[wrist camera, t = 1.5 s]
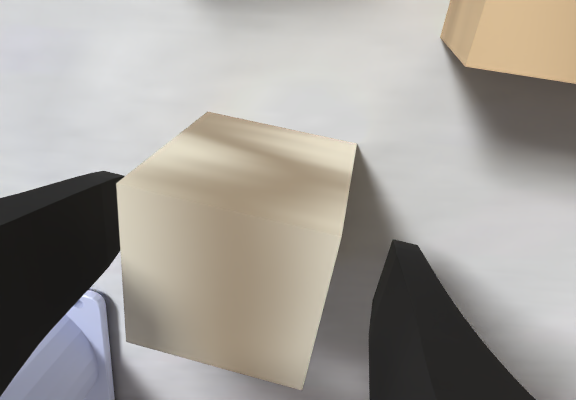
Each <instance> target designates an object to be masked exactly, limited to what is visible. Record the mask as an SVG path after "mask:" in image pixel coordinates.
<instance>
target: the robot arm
mask: <svg viewBox="0 0 576 400" xmlns="http://www.w3.org/2000/svg"><path fill="white" fill-rule="evenodd" d="M122 178H124V176H123V175H119V174H115V173H110V172H106V171H100V172H95V173H90V174H86V175H82V176H78V177H75V178H71V179H68V180H64V181H61V182H57V183H54V184H50V185H47V186H43V187H40V188H36V189H33V190H29V191H26V192H22V193H19V194H15V195H11V196H7V197H3V198H0V400H115V397H114V387H113V376H112V366H111V355H110V345H109V334H108V324H107V313H106V303H105V300H104V298H103V297H102V296H101V295H100V294H99V293H97V292H94V291H91V290H88V289H89V288H90V287H91V286H92V285H93V284H94V283H95V282H96V281H97V279H98V278H99V277H100V276H101V275H102V274H103V273H104V272H105V270H106V269H107V268H108V267H109V266H110V264H111V263H112V261H113V260H114V259H115V257H116V256H117V254H118V253H119V251H120V235H119V219H118V203H117V187H116V183H117V182H119V181H120V180H121V179H122ZM369 389H370V400H536V399H534V398H533V397H532V396H531V395H530V394H529V393H528V392H527V391H526V390H525V389H524V388H523V387H522V385H521V384H520V383H519V382H518V381H517V380H516V379H515V378H514V377H513V376H512V375H511V374H510V373H509V372H508V370H507V369H506V368H505V367H504V366H503V365H502V364H501V363H500V361H499V360H498V359H497V358H496V357H495V356H494V355H493V354H492V352H491V351H490V350H489V349H488V348H487V346H486V345H485V344H484V343H483V342H482V340H481V339H480V338H479V337H478V335H477V334H476V333H475V331H474V330H473V329H472V327H471V326H470V325H469V323H468V322H467V321H466V320H465V318H464V317H463V316H462V314H461V313H460V311H459V310H458V308H457V307H456V306H455V304H454V303H453V301H452V300H451V298H450V297H449V295H448V294H447V292H446V291H445V289H444V288H443V286H442V284H441V283H440V281H439V280H438V278H437V276H436V275H435V273H434V271H433V270H432V268H431V266H430V265H429V263H428V261H427V260H426V258H425V257H424V255H423V253H422V252H421V250H420V248H419V247H418V245H415V244H411V243H406V242H402V241H398V240H394V239H393V241H392V244H391V247H390V250H389V253H388V256H387V259H386V262H385V265H384V268H383V271H382V274H381V277H380V280H379V283H378V286H377V289H376V292H375V295H374V298H373V302H372V311H371V319H370V329H369Z"/></svg>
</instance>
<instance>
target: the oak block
mask: <svg viewBox="0 0 576 400" xmlns="http://www.w3.org/2000/svg"><path fill="white" fill-rule="evenodd" d="M440 38H441V39H442V40H443V41H444V42H445V43H446V45H447V46H448V47H449V48H450V49H451V51H452V52H453V53H454V54H455V55H456V56H457V58H458V59H459V60H460V61H461V62H462V64H463V65H464V66H465V67H471V68H477V69H484V70H490V71H497V72H503V73H510V74H516V75H523V76H529V77H535V78H542V79H548V80H555V81H561V82H568V83H574V84H576V0H450V4H449V7H448V11H447V15H446V18H445V22H444V26H443V29H442V33H441V36H440Z"/></svg>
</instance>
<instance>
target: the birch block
mask: <svg viewBox="0 0 576 400" xmlns="http://www.w3.org/2000/svg"><path fill="white" fill-rule="evenodd" d="M356 146H357V144H356V143H351V142H347V141H342V140H337V139H333V138H328V137H323V136H319V135H314V134H309V133H305V132H300V131H295V130H291V129H286V128H281V127H277V126H272V125H267V124H262V123H258V122H253V121H248V120H244V119H239V118H234V117H230V116H225V115H220V114H216V113H211V112H207V113H205V114H204V115H203V116H202V117H200V118H199V119H198V120H196V121H195V122H194V123H193V124H191V125H190V126H189V127H188V128H186V129H185V130H184V131H182V132H181V133H180V134H179V135H177V136H176V137H175V138H173V139H172V140H171V141H170V142H168V143H167V144H166V145H165V146H163V147H162V148H161V149H159V150H158V151H157V152H156V153H154V154H153V155H152V156H150V157H149V158H148V159H147V160H145V161H144V162H143V163H142V164H140V165H139V166H138V167H136V168H135V169H134V170H133V171H131V172H130V173H129V174H127V175H126V176H125V177H124V178H122V179H121V180H120V181H119V182H117V183H116V187H117V203H118V219H119V235H120V251H121V267H122V282H123V298H124V314H125V330H126V342H129V343H132V344H136V345H140V346H143V347H147V348H150V349H154V350H158V351H161V352H165V353H168V354H172V355H176V356H179V357H183V358H186V359H190V360H194V361H197V362H201V363H204V364H208V365H212V366H215V367H219V368H222V369H226V370H230V371H233V372H237V373H240V374H244V375H248V376H251V377H255V378H258V379H262V380H266V381H269V382H273V383H276V384H280V385H284V386H287V387H291V388H294V389H298V390H302V389H303V386H304V382H305V378H306V374H307V370H308V366H309V362H310V358H311V354H312V350H313V347H314V343H315V339H316V335H317V331H318V327H319V323H320V319H321V315H322V311H323V308H324V304H325V300H326V296H327V292H328V288H329V284H330V280H331V276H332V272H333V269H334V265H335V261H336V257H337V253H338V249H339V245H340V241H341V237H342V232H343V226H344V219H345V213H346V207H347V201H348V195H349V189H350V183H351V177H352V171H353V164H354V158H355V152H356Z"/></svg>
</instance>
